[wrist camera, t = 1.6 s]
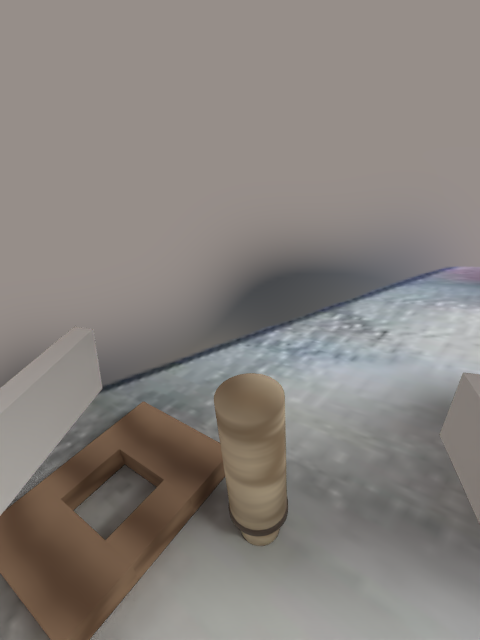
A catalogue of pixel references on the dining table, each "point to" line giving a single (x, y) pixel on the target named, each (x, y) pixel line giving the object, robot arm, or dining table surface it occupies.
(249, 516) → the birch peg
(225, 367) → the dining table surface
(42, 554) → the walnut board
